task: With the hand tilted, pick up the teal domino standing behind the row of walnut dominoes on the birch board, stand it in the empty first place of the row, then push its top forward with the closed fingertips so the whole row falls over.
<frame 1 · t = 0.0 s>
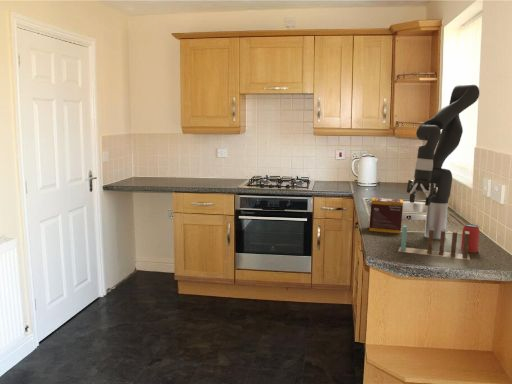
hand: (419, 204, 227), 17 cm above the table, tool pointing down, fingers open, 8 cm apart
walnut domino 2: (429, 252, 205), point 1 cm above the table, touching birch board
beer can: (468, 253, 211), on the table
walnut domino 3: (441, 253, 203), point 1 cm above the table, touching birch board
walnut domino 4: (452, 255, 202), point 1 cm above the table, touching birch board
supplement box: (385, 230, 250), on the table
birch board: (433, 255, 204), on the table
teal domino: (403, 249, 208), point 1 cm above the table, touching birch board
walnut domino 5: (464, 256, 200), point 1 cm above the table, touching birch board
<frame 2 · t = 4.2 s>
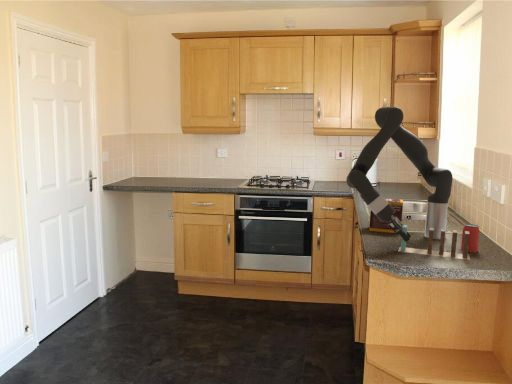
hand: (408, 239, 207), 6 cm above the table, tool tilted 45°, fingers closed on teal domino, 5 cm apart
teal domino: (403, 249, 208), point 1 cm above the table, touching birch board, gripper
everything else where it was.
when the fingers open (7 cm above the table, at t = 9.8 s): teal domino stays where it is, resting on birch board.
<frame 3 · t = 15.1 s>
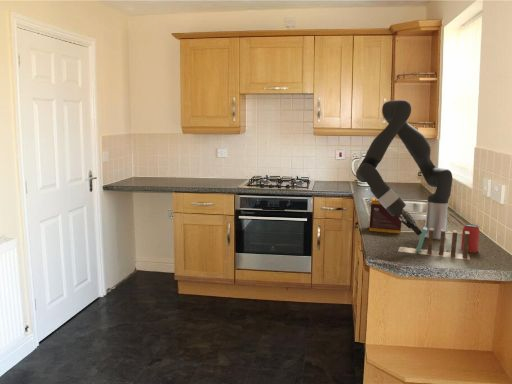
hand: (420, 233, 205), 9 cm above the table, tool tilted 45°, fingers closed
teal domino: (418, 250, 206), point 1 cm above the table, tilted 12°, touching birch board
everything else where it was.
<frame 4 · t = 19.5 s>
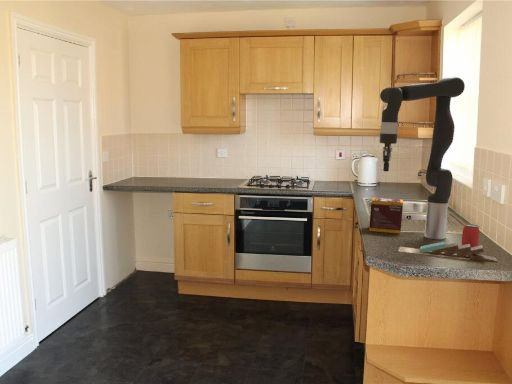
hand: (386, 171, 224), 32 cm above the table, tool pointing down, fingers closed
walnut domino 2: (432, 251, 204), point 2 cm above the table, tilted 70°, touching birch board, teal domino, walnut domino 3
walnut domino 3: (444, 252, 203), point 2 cm above the table, tilted 70°, touching birch board, walnut domino 2, walnut domino 4
walnut domino 4: (456, 253, 201), point 2 cm above the table, tilted 70°, touching walnut domino 3, walnut domino 5
teal domino: (420, 249, 206), point 2 cm above the table, tilted 70°, touching birch board, walnut domino 2
walnut domino 5: (469, 255, 199), point 2 cm above the table, tilted 97°, touching birch board, walnut domino 4
everything else where it was.
at the end: walnut domino 5 tilted 97°; teal domino tilted 70°; teal domino 0.1 cm from the target spot on the birch board, point 2.0 cm above the birch board's base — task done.
